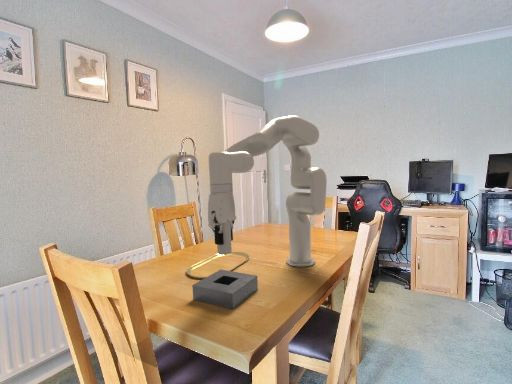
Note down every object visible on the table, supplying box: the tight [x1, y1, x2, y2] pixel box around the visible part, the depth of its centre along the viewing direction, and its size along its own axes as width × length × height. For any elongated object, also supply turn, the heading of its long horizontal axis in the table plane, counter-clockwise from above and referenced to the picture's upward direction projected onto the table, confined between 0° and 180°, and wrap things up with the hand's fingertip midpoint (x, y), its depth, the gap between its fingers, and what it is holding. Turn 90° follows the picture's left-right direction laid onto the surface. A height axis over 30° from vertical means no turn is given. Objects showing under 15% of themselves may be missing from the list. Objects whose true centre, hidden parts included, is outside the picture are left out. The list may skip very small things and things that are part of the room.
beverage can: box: [216, 219, 233, 256], centre depth 98 cm, size 5×5×12 cm
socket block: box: [192, 268, 259, 310], centre depth 99 cm, size 16×16×5 cm
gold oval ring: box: [186, 251, 250, 280], centre depth 130 cm, size 19×35×2 cm, turn 153°
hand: (224, 241), depth 98 cm, fingers closed on beverage can, 4 cm apart
